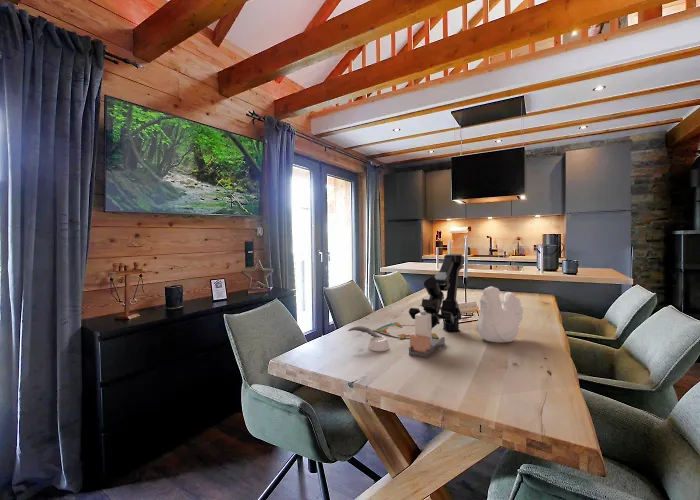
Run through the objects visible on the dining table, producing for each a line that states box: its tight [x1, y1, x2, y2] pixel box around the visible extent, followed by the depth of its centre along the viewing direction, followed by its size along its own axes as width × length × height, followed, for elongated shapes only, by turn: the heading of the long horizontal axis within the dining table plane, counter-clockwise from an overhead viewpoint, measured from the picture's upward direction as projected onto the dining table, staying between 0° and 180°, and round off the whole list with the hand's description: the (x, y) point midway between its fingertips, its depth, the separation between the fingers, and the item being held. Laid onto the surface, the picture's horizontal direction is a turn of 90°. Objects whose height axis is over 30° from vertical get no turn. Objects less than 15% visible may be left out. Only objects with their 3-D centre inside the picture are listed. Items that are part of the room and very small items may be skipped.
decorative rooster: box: [476, 286, 524, 343], centre depth 146 cm, size 25×16×25 cm, turn 103°
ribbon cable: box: [372, 321, 440, 340], centre depth 166 cm, size 29×1×30 cm
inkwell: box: [347, 325, 390, 352], centre depth 140 cm, size 9×18×10 cm, turn 101°
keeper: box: [414, 310, 433, 346], centre depth 134 cm, size 5×5×15 cm
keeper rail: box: [408, 334, 446, 359], centre depth 138 cm, size 20×8×8 cm, turn 145°
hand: (425, 333), depth 136 cm, fingers closed, pressing on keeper
